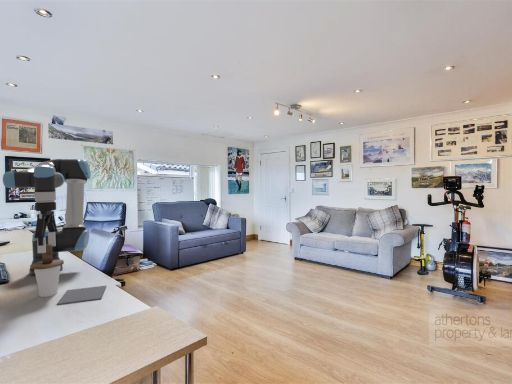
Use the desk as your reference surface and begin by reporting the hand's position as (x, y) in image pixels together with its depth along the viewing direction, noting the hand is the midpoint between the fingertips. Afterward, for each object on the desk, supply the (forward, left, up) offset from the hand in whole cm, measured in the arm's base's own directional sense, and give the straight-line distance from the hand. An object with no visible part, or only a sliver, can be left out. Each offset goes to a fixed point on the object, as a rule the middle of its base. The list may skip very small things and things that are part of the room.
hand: (47, 249), depth 127 cm
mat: (+7, +15, -20) cm, 26 cm away
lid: (0, 0, -7) cm, 7 cm away
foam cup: (0, 0, -20) cm, 20 cm away
